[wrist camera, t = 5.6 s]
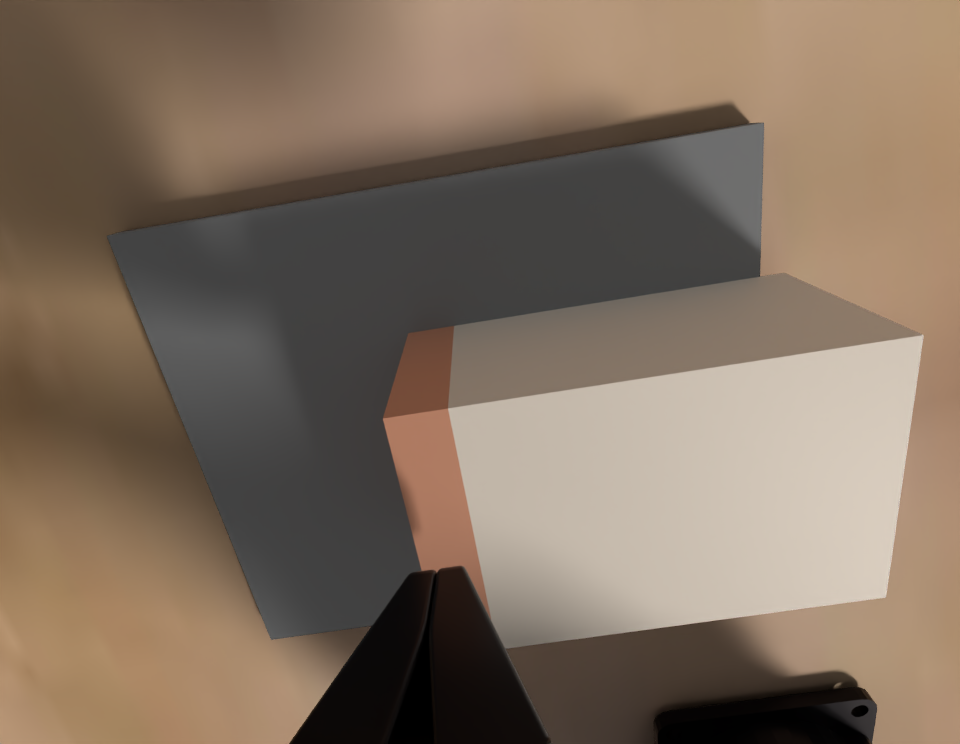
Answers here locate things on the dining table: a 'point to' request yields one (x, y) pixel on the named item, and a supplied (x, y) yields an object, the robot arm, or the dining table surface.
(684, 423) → the tall block
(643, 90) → the dining table surface
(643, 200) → the rubber mat
